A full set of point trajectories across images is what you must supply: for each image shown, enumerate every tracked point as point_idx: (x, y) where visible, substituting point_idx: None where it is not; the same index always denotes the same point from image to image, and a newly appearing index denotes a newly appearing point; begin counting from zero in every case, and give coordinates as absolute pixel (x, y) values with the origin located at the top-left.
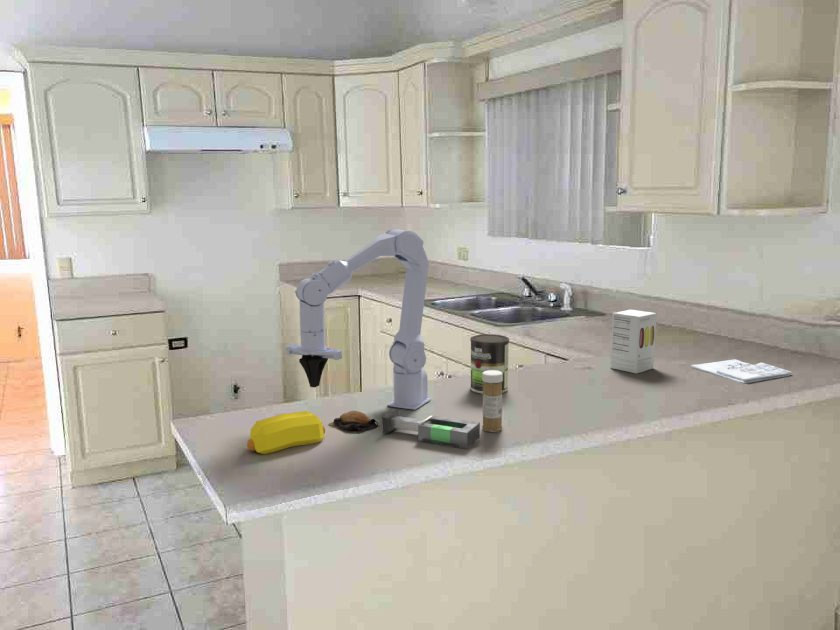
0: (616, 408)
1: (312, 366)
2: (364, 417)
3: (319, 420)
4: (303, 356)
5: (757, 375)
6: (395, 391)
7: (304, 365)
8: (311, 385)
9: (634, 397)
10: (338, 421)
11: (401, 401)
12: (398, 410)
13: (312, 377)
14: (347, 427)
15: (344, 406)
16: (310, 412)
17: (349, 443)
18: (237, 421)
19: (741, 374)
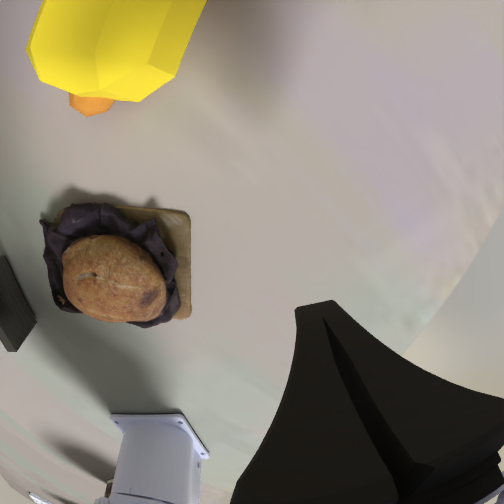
0: (3, 452)
1: (313, 441)
2: (68, 294)
3: (33, 64)
4: (486, 476)
5: (32, 498)
6: (160, 451)
7: (432, 404)
8: (322, 307)
9: (27, 473)
10: (143, 237)
11: (142, 429)
12: (6, 348)
13: (316, 349)
14: (68, 208)
15: (286, 369)
16: (94, 61)
17: (6, 135)
18: (484, 76)
19: (41, 501)
